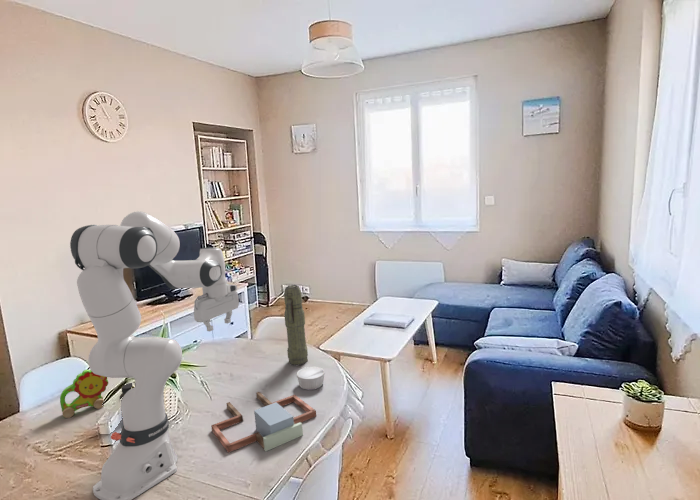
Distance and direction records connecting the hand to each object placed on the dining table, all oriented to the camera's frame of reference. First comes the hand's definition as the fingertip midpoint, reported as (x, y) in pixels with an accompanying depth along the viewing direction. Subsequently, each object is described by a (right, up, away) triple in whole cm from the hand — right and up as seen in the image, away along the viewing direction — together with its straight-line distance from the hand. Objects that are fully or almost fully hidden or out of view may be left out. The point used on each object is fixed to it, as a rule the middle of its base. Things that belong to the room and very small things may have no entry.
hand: (219, 326), depth 161 cm
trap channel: (+18, -30, -13) cm, 37 cm away
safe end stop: (+28, -31, -26) cm, 50 cm away
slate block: (+24, -31, -21) cm, 44 cm away
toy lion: (-50, -32, +2) cm, 60 cm away
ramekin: (+33, -25, +12) cm, 43 cm away
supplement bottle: (-30, -32, -5) cm, 44 cm away
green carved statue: (+25, -22, +35) cm, 48 cm away
